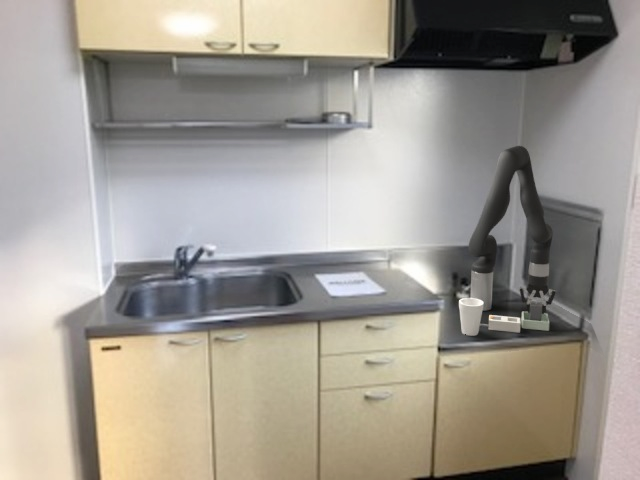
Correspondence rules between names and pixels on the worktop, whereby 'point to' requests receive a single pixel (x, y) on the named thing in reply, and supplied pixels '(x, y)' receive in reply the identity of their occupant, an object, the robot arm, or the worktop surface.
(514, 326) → the power strip
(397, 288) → the worktop surface
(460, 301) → the foam cup
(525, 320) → the tray
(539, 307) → the block
